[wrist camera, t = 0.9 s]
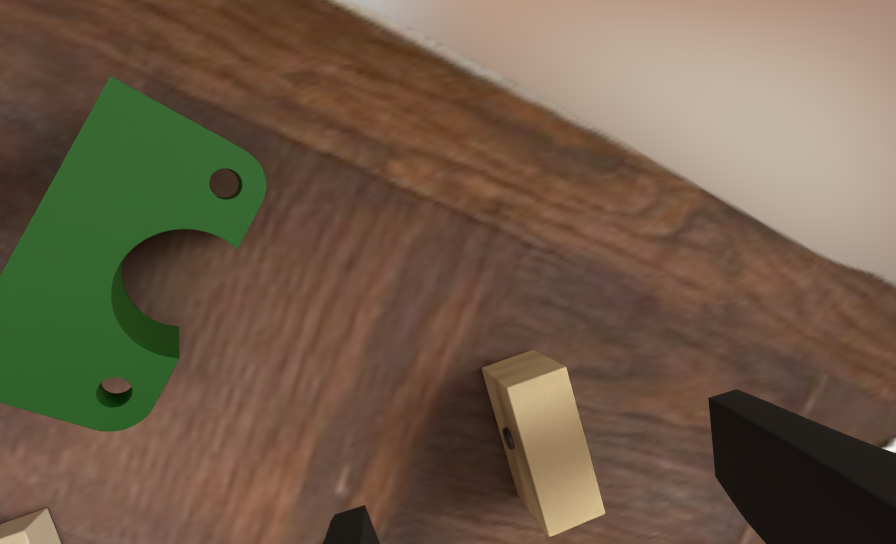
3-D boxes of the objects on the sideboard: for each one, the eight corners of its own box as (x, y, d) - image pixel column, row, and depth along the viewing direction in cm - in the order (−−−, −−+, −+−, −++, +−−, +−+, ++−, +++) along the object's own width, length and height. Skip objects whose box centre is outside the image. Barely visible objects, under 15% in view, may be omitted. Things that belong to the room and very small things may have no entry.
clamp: (165, 329, 29) (115, 472, 21) (33, 279, 26) (-78, 422, 19) (283, 131, 25) (274, 220, 18) (144, 50, 23) (62, 112, 15)
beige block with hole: (571, 476, 30) (610, 512, 26) (514, 499, 29) (545, 539, 25) (536, 347, 29) (570, 364, 25) (476, 368, 28) (502, 389, 24)
